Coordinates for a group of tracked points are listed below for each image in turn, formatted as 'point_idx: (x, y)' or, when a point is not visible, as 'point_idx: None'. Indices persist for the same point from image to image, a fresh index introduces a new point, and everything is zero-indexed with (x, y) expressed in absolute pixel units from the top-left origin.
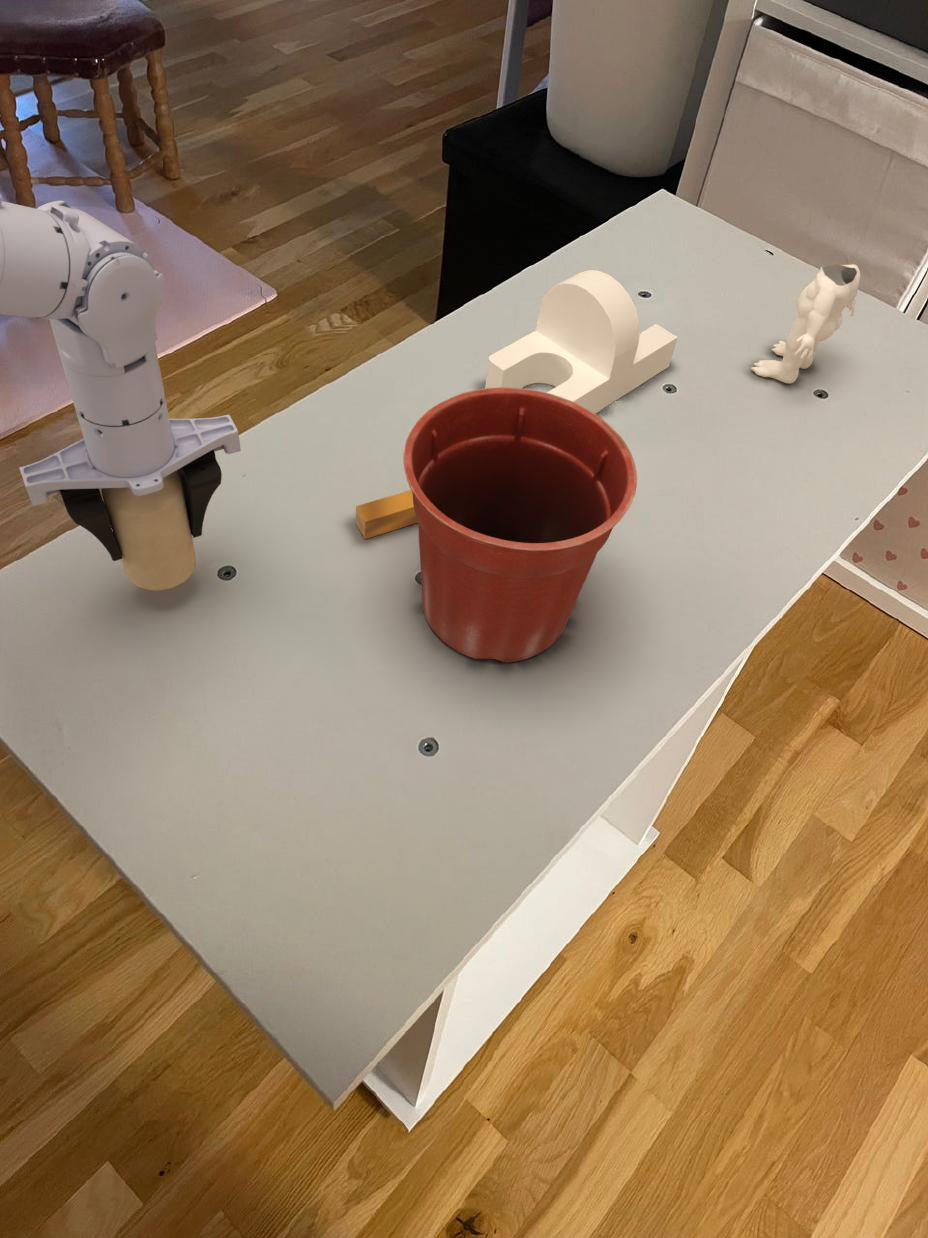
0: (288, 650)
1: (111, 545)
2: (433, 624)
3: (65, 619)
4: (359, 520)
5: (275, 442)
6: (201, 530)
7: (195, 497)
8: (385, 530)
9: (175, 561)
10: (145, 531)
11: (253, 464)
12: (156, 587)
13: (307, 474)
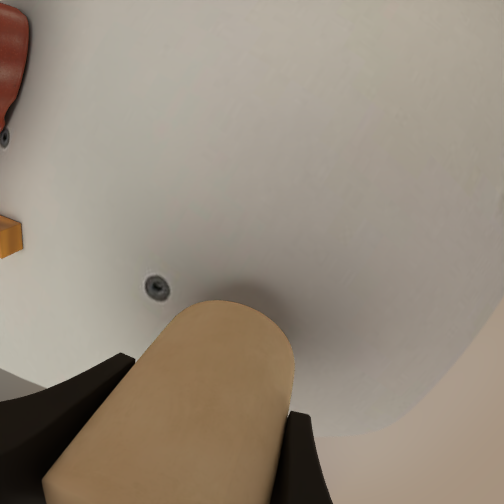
0: (149, 102)
1: (304, 460)
2: (16, 58)
3: (390, 358)
4: (10, 243)
5: None
6: (107, 359)
7: (17, 433)
8: (5, 219)
9: (192, 339)
10: (197, 466)
11: None
12: (263, 319)
13: (47, 336)
